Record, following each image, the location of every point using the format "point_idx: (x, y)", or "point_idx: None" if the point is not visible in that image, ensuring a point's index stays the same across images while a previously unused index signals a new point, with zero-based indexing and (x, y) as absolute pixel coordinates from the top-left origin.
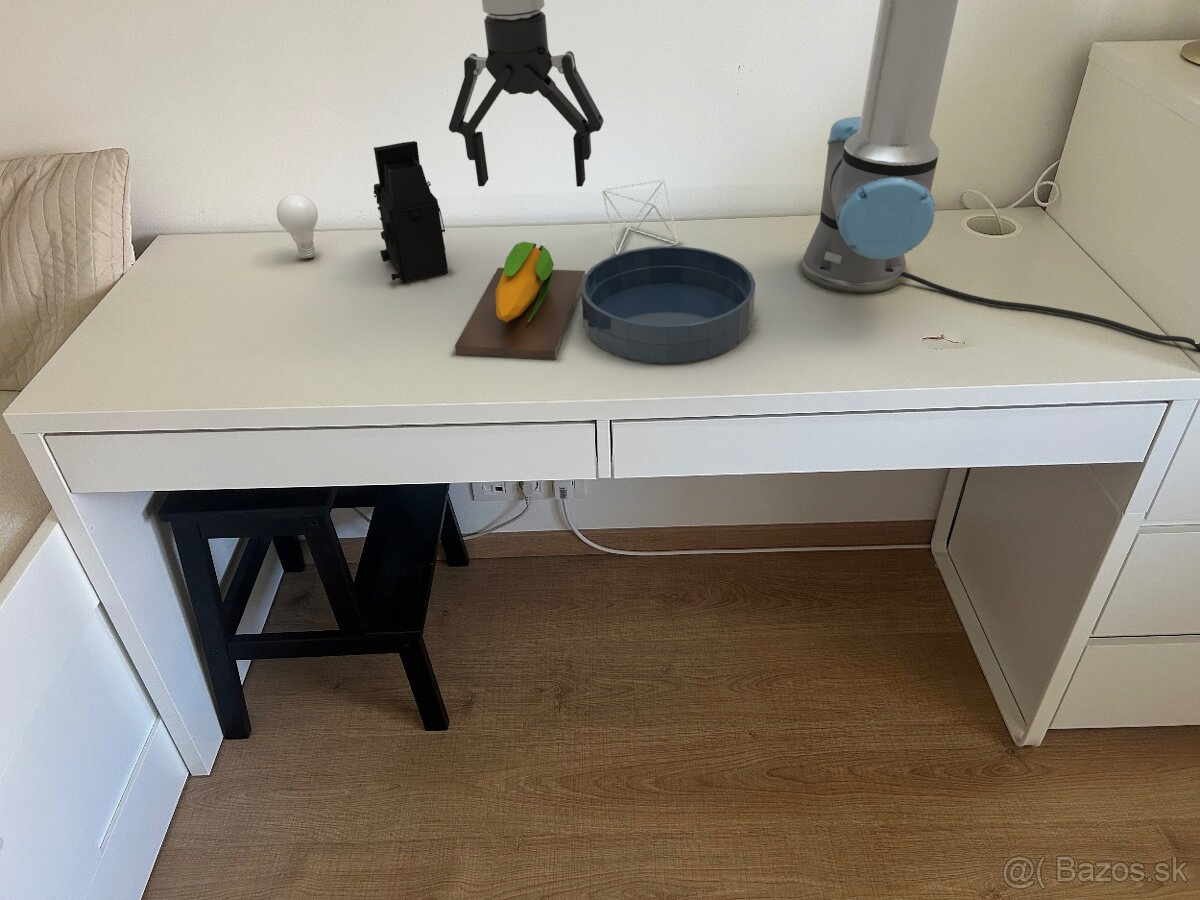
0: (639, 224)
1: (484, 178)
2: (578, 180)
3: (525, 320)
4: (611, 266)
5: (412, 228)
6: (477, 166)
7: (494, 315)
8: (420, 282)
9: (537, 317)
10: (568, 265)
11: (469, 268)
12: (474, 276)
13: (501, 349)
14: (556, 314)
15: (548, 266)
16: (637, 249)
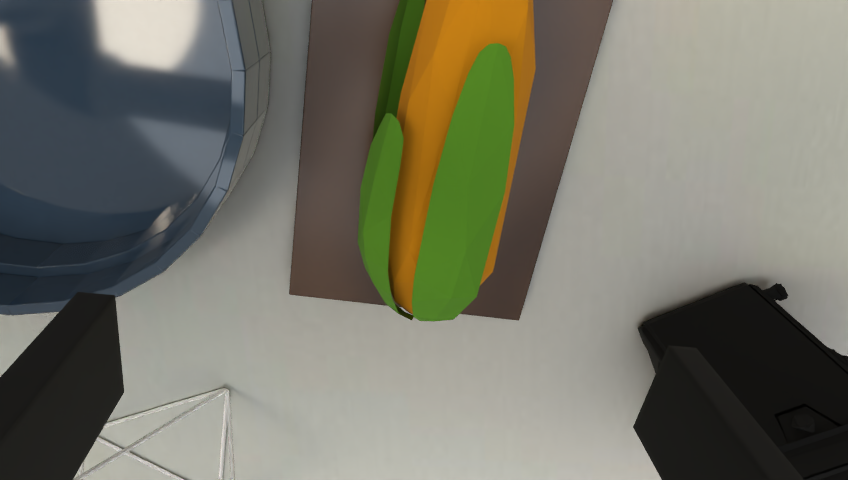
0: (133, 445)
1: (670, 394)
2: (81, 315)
3: None
4: (180, 234)
5: (790, 385)
6: (752, 430)
7: None
8: (705, 288)
9: None
10: (344, 349)
11: (584, 346)
12: (573, 309)
13: None
14: (344, 49)
15: (367, 195)
16: None
